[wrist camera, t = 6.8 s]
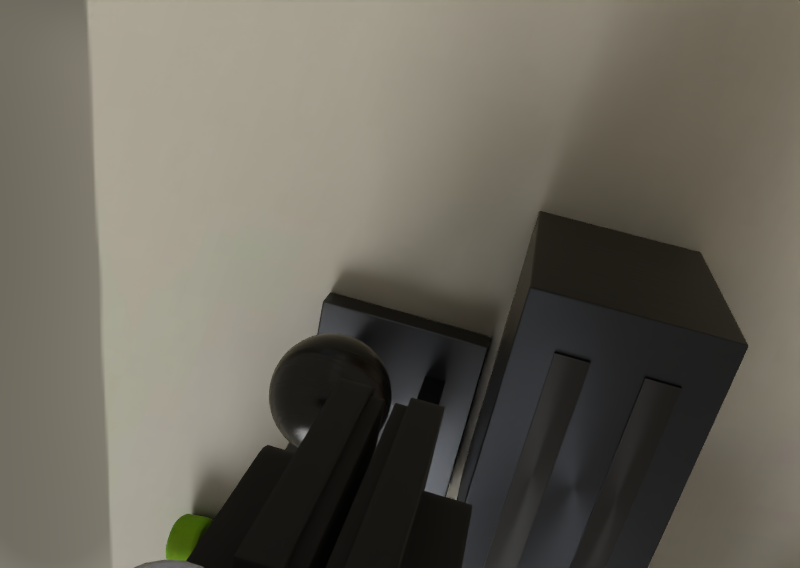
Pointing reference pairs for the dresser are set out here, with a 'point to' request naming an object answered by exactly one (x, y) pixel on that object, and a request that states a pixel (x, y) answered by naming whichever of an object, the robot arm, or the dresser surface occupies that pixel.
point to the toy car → (186, 536)
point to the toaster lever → (321, 380)
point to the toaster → (596, 400)
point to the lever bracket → (417, 368)
